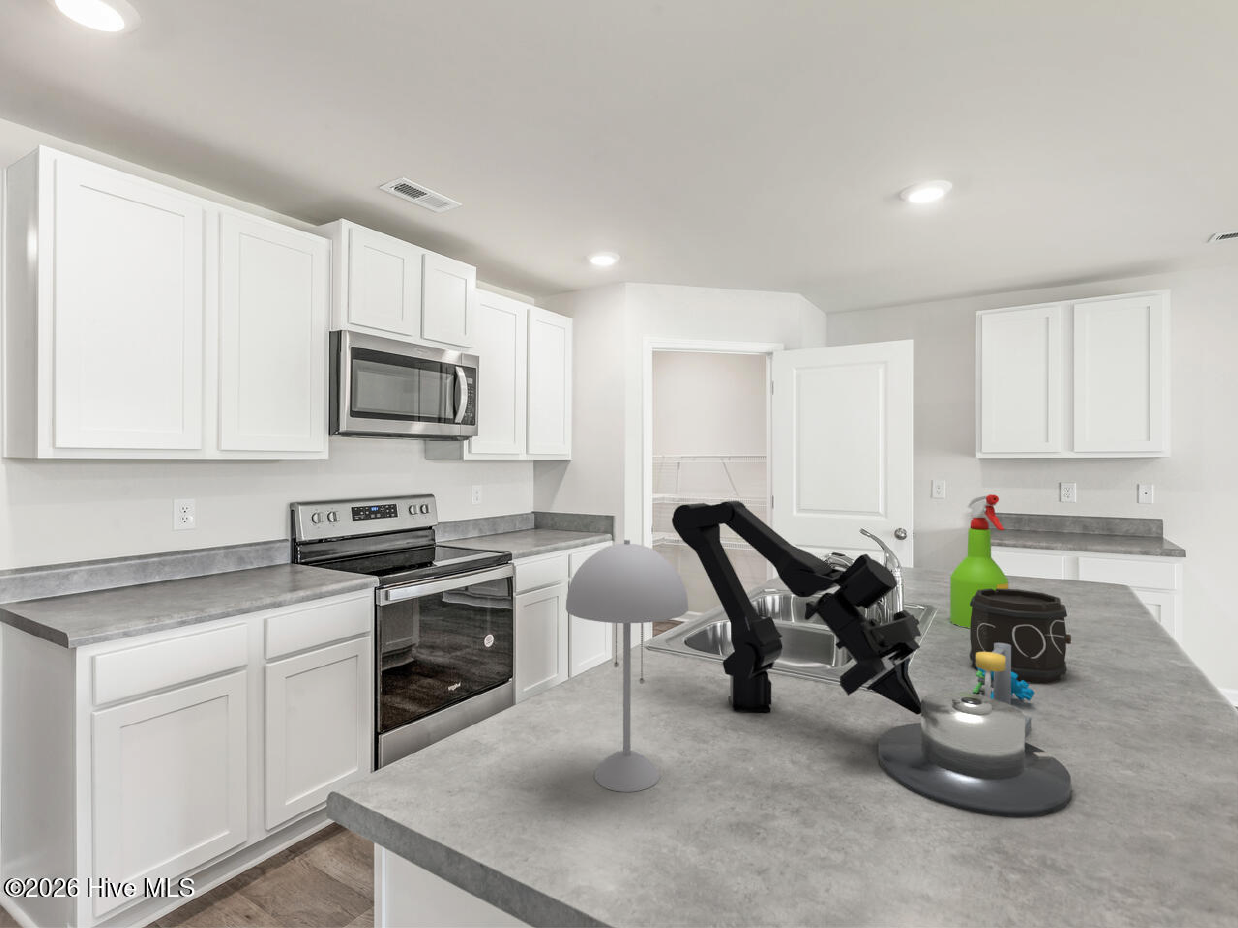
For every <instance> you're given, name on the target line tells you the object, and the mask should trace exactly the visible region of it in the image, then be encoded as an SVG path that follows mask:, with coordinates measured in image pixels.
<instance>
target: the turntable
mask: <svg viewBox="0 0 1238 928" xmlns="http://www.w3.org/2000/svg"><path fill="white" fill-rule="evenodd" d="M877 743H878V746H877V747H878V749H877V751H878V752H877V753H878V754H877V757H878V762H879V764H880V766H881V768H882V769H883V771H884V772H885V773H886V774H887V775H888V777H891V778H892V779H893V780H894V781H895V782H897V783H898V784H900V785H901V786H903V787H905V788H906V789H908V790H910V791H912V792H914V793H915V794H918V795H920V796H922V797H924V796H925V797H924V798H927V797H928V798H927V799H929V798H930V799H929V800H932V799H933V800H932V801H934V800H935V802H937V801H938V802H937V803H940V802H941V803H940V804H943V803H944V804H943V805H946V804H947V806H949V805H950V807H953V808H956V807H957V809H960V808H961V810H964V809H965V811H969V810H970V811H969V812H972V813H973V812H974V813H978V814H985V815H991V816H1002V817H1017V818H1018V817H1021V818H1022V817H1023V818H1024V817H1037V816H1044V815H1048V814H1052V813H1055V812H1058V811H1060V810H1062V809H1063V808H1065V807H1066V806H1067V805H1068V804H1069V802H1070V800H1071V787H1072V786H1071V783H1072V782H1071V779H1072V778H1071V775H1070V773H1069V771H1068V769H1067V768H1066V767H1065V765H1063V764H1062V763H1061V762H1060V761H1059V760H1058V759H1056V758H1055V757H1054V756H1053V755H1052V754H1050V753H1049V752H1046V751H1044V750H1043V749H1041V748H1039V747H1038V746H1034V745H1033V744H1030V743H1028V742H1026V741H1025V769H1024V772H1023V773H1022V774H1021V775H1019V776H1017V777H1014V778H1010V779H1000V780H994V779H981V778H975V777H970V776H965V775H961V774H958V773H955V772H952V771H949V770H946V769H944V768H942V767H940V766H938V765H936V764H934V763H932V762H931V761H929V760H928V759H927V758H926V757H925V756H924V755H923V754H922V752H921V722H916V723H915V722H913V723H908V724H907V723H906V724H901V725H896V726H895V727H892V728H889V729H888V730H886V731H884V732H883V733H882V734H881V735H880V737H879V739H878V741H877Z"/></svg>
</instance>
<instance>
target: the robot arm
mask: <svg viewBox="0 0 1238 928" xmlns="http://www.w3.org/2000/svg"><path fill="white" fill-rule="evenodd" d="M672 515H673V516H672V518H671V523H672V526H673V528H674V530H675V532H676V533H677V534H678V536H679V537H680V539H681V540H682V541H683V542H684V543H685V545H687V546H688V547H690V549H692V550H693V551H694V552H695V553H696V554H697V557H698V559H699V561H700V562H701V565H702V567H703V569H704V570H705V573H706V576H708V577H707V578H708V579H709V580H710V583H711V586H712V588H713V589H714V591H715V593H716V595H717V598H718V600H719V601H720V603H721V605H722V608H723V610H724V612H725V613H726V616H727V618H728V620H729V621H730V622H729V623H730V641H731V645H732V648H733V652H732V653H731V654H730V655H729V656H728V657H726V658H725V659H724V660H723V662H722V666H723V671H724V673H725V675H728V676H729V678H730V687H729V691H730V692H729V695H728V701H729V703H730V706H731V708H732V711H733V712H737V713H738V712H748V713H751V712H752V713H754V712H755V713H756V712H760V713H761V712H763V713H764V712H765V713H768V712H769V713H770V712H771V711H772V710H771V707H770V706H771V705H772V681H771V680H770V677H769V672H768V671H767V670H772V669H773V667H774V664H775V662H776V661H777V660H779V658H780V656H781V655H782V650H783V643H782V640H781V639H782V637H783V635H782V634H781V633H780V632H779V631H778V629H777V628H776V624H775V622H774V619H773V618H772V617H771V616H767V617H764V618H763V617H762V616H761V614H759V613H758V612H757V611H756V610H755V608H754V606H753V605H752V602H751V601H750V598H749V596H748V595H747V593H746V590H745V589H744V587H743V585H742V582H741V580H740V579H739V577H738V574H737V573H736V571H735V568H734V566H733V564H732V563H731V561H730V559H729V557H728V554H727V553H726V551H725V549H724V547H723V544H722V543H721V526H720V525H722V524H725V525H726V526H727V527H729V528H730V529H731V531H733V532H734V533H736V534H737V535H738V536H739V537H740V538H742V540H744V541H745V542H746V543H747V544H749V546H751V548H753V549H754V550H755V551H757V552H758V553H759V554H760V555H761V556H763V557H764V559H766V560H767V561H768V562H769V563H770V564H771V565H772V566H773V567H774V569H775V570H776V572H777V576H778V577H779V579H780V580H781V581H782V582H783V584H784V585H785V586H786V587H787V588H788V590H789V591H790V592H791V593H792V594H793V595H795V596H797V597H798V598H809V597H813V596H815V595H819V594H822V593H823V594H822V595H820V597H819V598H818V599H817V600H816V601H814V600H810V601H808V602H806V603H805V613H804V620H806V621H808V620H811V619H813V618H816V617H819V618H820V619H821V621H822V622H823V623H824V624H825V626H826V627H827V628H828V629H829V631H830V632H831V633H832V634H833V635H834V637H835V638H836V639H837V641H838V642H836V643H835V646H836V648H837V649H838V650H839V651H840V650H842V649H844V650H845V651H846V652H847V653H848V654H849V656H850V657H851V658H852V659H853V660H854V662H855V664H854V665H853V666H851V667H850V668H849V669H847V671H845V672H844V673H843V674H841V675H840V676H839V686H840V687H841V689H842V690H843V691H844V692H845V694H846V695H847V696H848V697H849V696H851V695H852V694H854V693H856V692H857V691H858V690H859V689H860V688H861V687H862V686H863V685H865V684H866V683H867V682H869V681H870V682H871V683H870V684H869V685H868V686H867V687H866V690H867V691H872V692H873V693H877V694H878V695H880V696H882V697H883V698H886V699H888V700H890V701H892V702H894V703H895V704H897V705H899V706H901V707H903V708H904V709H906V710H908V711H909V712H911V713H913V714H915V715H918V716H919V715H921V699H920V698H919V696H918V693H917V691H916V689H915V687H914V684H913V683H912V680H911V678H910V675H909V665H910V662H911V657H909V656H910V655H913V653H914V652H916V651H917V650H919V648H920V647H921V646H920V645H919V644H918V642H917V641H916V638H917V637H921V636H922V634H921V631H920V630H919V626H918V625H920V620H919V619H918V618H916V617H915V615H914V614H910V612H909V611H907V610H906V609H903V610H899V611H897V612H894V613H893V614H892V620H890V621H887V622H884V623H880V622H879V621H878V620H877V619H876V618H873V617H871V618H869V619H868V617H866V616H865V614H864V613H863V612H862V611H861V610H860V608H864V609H867V610H868V609H871V608H872V607H874V606H875V605H876V604H877V603H878V602H880V601H881V600H882V599H883V598H884V597H886V596H887V595H888V594H890V593H891V592H892V591H893V590H894V589H895V588H896V587H897V585H898V581H897V579H896V577H895V576H894V574H893V573H892V572H891V571H890V569H888V567H886V566H884V565H883V564H881V563H880V562H879V561H877V560H875V559H873V558H871V557H870V555H869V554H867V553H863V554H860V555H858V557H857V558H856V559H855V560H854V562H853V563H852V564H851V565H850V566H849V567H847V568H846V569H845V570H841V569H838V568H835V567H831V565H829V563H828V562H826V561H825V560H823V559H821V558H820V557H818V556H816V555H814V554H812V553H811V552H808V551H806V550H803V549H800V548H799V547H796V546H794V545H792V544H790V542H788V541H787V540H786V539H784V538H783V537H782V536H781V535H780V534H778V533H777V532H776V531H775V530H774V529H772V528H771V527H770V526H769V525H768V524H766V522H764V521H762V519H761V518H759V517H758V516H756V515H755V514H754V513H753V512H752V511H750V510H749V509H748V508H747V507H746V505H745V504H744V503H743V502H741V501H739V500H728V501H726V500H725V501H722V502H720V503H716V504H712V505H710V504H708V503H705V502H700V503H688V504H681V505H679V506H677V507H676V508H675V510H674V512H673V514H672ZM836 587H838V589H837V590H835V591H834V592H833V593H832V592H828V590H830V589H834V588H836ZM826 591H827V592H826Z"/></svg>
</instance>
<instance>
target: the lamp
mask: <svg viewBox="0 0 1238 928" xmlns="http://www.w3.org/2000/svg"><path fill="white" fill-rule="evenodd" d="M565 611H566V612H567V613H568V614H570V615H571V616H574V617H576V618H579V619H584V620H588V621H594V622H601V623H611V624H613V623H614V624H615V662H614V663H613V666H614V667H615V668H618V667H619V665H620V663H619V662H618V645H617V644H618V624H623V625H622V627H623V628H622V635H623V636H622V657H623V658H622V695H623V696H622V750H620V751H616V752H613V753H611V754H610V755H608V756H607V757H605V758H604V759H603V760H602V761H601V762H600V763H599V764H598V766H597V767H596V769H595V770H594V772H593V778H594V781H595V782H596V784H598V785H599V786H601V787H603V788H605V789H608V790H610V791H615V792H620V793H621V792H623V793H624V792H625V793H631V792H640V791H643V790H647V789H648V788H649V789H650V788H651V787H654V785H656V784H657V783H658V781H659V780H660V772H659V770H658V769H657V767H656V766H655V764H654V763H653V762H652V761H651V759H650V758H648V757H646V756H645V755H644V754H641V752H640V753H639V752H637V751H633V750H631V694H632V693H631V690H632V689H631V684H632V683H631V681H632V680H631V672H632V671H631V668H632V667H631V656H632V652H631V651H632V649H631V648H632V647H631V643H632V642H631V633H632V632H631V628H632V627H631V626H632V625H631V624H641V627H640V628H641V632H640V633H641V636H640V637H641V638H640V640H641V644H640V645H641V646H640V647H641V648H640V651H641V656H640V657H641V660H640V661H641V664H640V665H641V669H640V670H641V673H640V674H641V675H640V676H641V678H640V679H639V680H638V681H639V683H640V685H641V684H642V685H643V684H644V683H645V682H646V680H645V679H644V677H643V676H644V675H643V674H644V673H643V672H644V671H643V670H644V669H643V666H644V665H643V664H644V662H643V661H644V660H643V658H644V656H643V655H644V654H643V653H644V652H643V651H644V648H643V647H644V644H643V643H644V642H643V641H644V640H643V639H644V638H643V636H644V632H643V628H644V626H643V625H644V623H654V622H655V623H656V622H662V621H664V622H665V621H668V620H673V619H677V618H679V617H681V616H684V615H685V614H686V613H687V612H688V611H689V601H688V594H687V590H686V585H684V581H683V580H682V577H681V576H680V574H679V572H678V571H677V569H676V567H674V565H673V564H672V563H671V562H670V560H668V559H667V558H666V557H665V556H663V555H662V554H661V553H660V552H658V551H656V550H655V549H653V548H650V547H648V546H644V545H643V544H642V545H641V544H637V543H631V540H630V539H623V543H618V544H617V543H616V544H612V545H609V546H605V547H604V548H600V549H599V550H597V551H596V552H594V553H593V554H591V555H590V556H588V557H587V558H586V560H585V561H584V562H582V564H581V565H580V566H579V567H578V569H577V570H576V572H575V573H574V575H573V577H572V580H571V581H570V584H569V586H568V590H567V594H566V600H565Z"/></svg>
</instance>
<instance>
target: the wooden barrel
mask: <svg viewBox="0 0 1238 928" xmlns="http://www.w3.org/2000/svg"><path fill="white" fill-rule="evenodd" d="M970 606H971V607H972V615H971V624H970V629H969V631H970V635H969V637H970V646H971V647H970V648H971V649H970V652H969V659H970V661H972V662H973V666H974V668H975V669H977V666H976V653H977V652H992V651H994V643H1006V644H1009V645H1011V671H1012V672H1014V673H1016V674H1017V675H1018V677H1017V678H1016V680H1017V681H1019V682H1021V681H1022V680H1023V681H1025V682H1026V683H1028V682H1031V683H1030V684H1043V685H1044V684H1048V683H1053V682H1059V680H1060V681H1061V678H1062V675H1065V674H1066V673H1067V665H1066V661H1065V659H1066V652H1067V651H1066V650H1067V644H1068V645H1071V644H1072V634H1067V632H1066V631H1067V630H1066V624H1065V623H1066V622H1065V618H1066V617H1067V616H1068V613H1067V609H1066V606H1065V605H1064V604H1062V601H1061V598H1060V597H1058V596H1054V595H1050V594H1049V593H1044V592H1039V591H1032V590H1031V591H1030V590H1025V589H1017V588H1008V589H996V590H995V591H994V590H993V589H982V590H977V592H976V595H975V596H973V598H972V600H971V603H970Z"/></svg>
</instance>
